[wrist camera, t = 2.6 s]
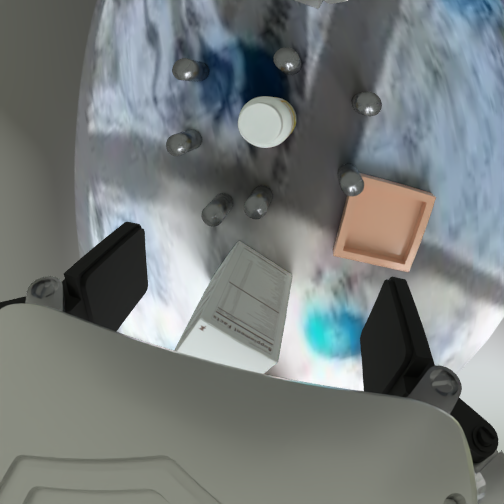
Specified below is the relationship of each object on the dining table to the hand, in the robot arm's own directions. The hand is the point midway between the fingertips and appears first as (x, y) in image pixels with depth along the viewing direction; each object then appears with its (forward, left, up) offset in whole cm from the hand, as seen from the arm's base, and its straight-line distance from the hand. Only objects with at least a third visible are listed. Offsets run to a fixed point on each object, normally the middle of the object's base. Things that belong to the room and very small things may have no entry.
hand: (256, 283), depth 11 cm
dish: (-12, +6, -28) cm, 31 cm away
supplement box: (+4, +19, -28) cm, 34 cm away
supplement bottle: (+4, -4, -28) cm, 29 cm away
